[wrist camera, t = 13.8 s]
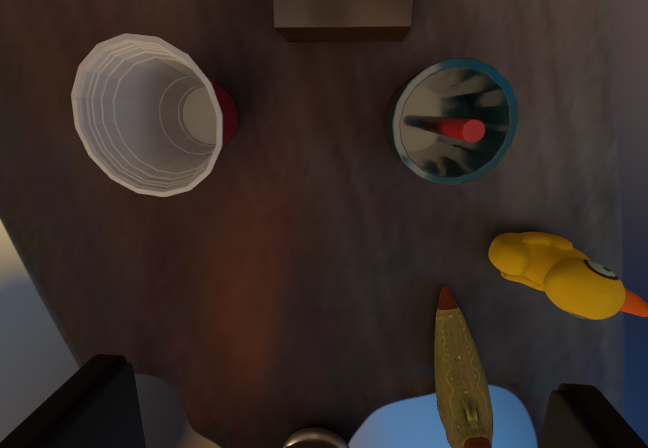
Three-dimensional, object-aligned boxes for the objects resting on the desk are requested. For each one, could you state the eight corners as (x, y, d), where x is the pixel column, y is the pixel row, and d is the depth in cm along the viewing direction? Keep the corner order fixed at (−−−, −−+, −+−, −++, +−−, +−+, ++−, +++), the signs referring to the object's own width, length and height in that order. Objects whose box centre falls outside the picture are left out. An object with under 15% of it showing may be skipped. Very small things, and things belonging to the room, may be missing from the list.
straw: (422, 116, 35) (463, 118, 21) (436, 116, 34) (486, 119, 21) (420, 130, 35) (460, 142, 22) (435, 131, 35) (483, 142, 21)
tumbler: (384, 73, 34) (395, 58, 25) (479, 73, 34) (528, 58, 24) (380, 164, 37) (388, 183, 27) (468, 166, 36) (508, 185, 26)
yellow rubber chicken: (416, 283, 40) (435, 337, 30) (468, 276, 39) (504, 329, 30) (438, 434, 45) (460, 520, 36) (484, 430, 44) (519, 517, 35)
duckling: (600, 245, 37) (685, 291, 28) (574, 292, 39) (646, 351, 29) (491, 211, 37) (538, 246, 28) (469, 259, 39) (506, 308, 29)
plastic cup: (147, 153, 38) (58, 170, 27) (167, 42, 35) (75, 8, 24) (248, 187, 38) (202, 219, 27) (277, 80, 35) (239, 65, 24)
